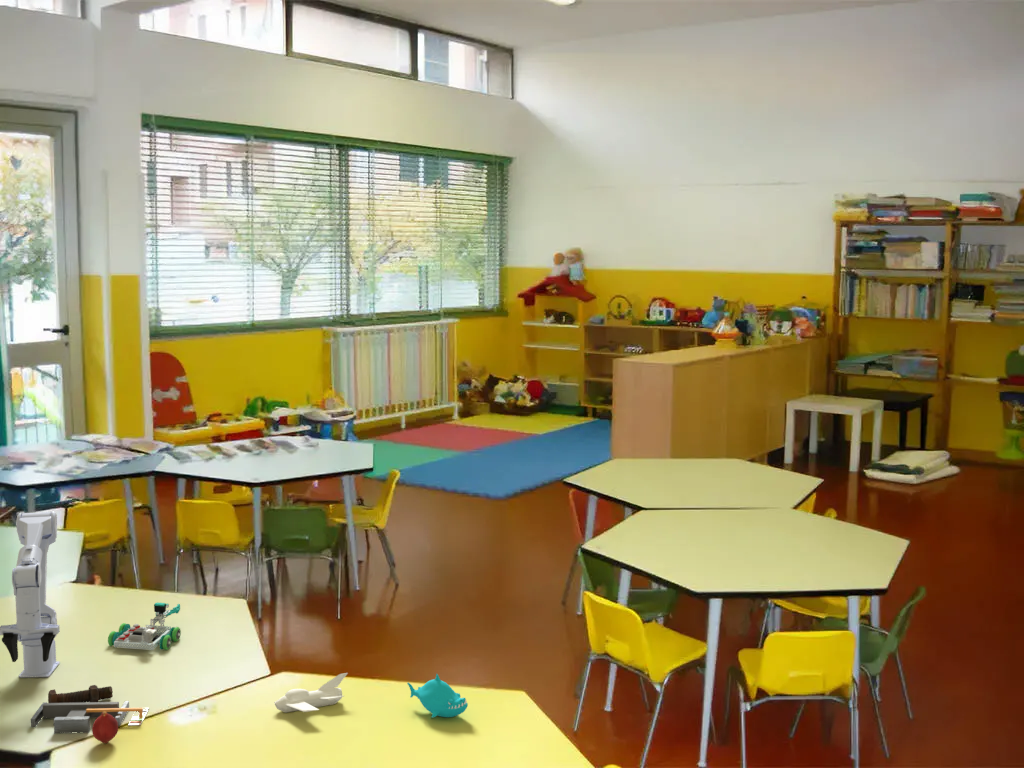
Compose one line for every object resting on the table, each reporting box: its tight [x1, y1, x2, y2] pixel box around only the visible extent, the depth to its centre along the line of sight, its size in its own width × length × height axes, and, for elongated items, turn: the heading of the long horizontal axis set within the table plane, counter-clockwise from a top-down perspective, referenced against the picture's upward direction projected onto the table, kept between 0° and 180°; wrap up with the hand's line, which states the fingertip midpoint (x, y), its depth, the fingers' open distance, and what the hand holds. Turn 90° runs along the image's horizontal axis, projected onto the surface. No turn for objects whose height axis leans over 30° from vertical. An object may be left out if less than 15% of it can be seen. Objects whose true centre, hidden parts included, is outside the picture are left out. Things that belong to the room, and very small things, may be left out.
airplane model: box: [274, 672, 348, 714], centre depth 270 cm, size 20×20×8 cm
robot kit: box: [107, 602, 182, 651], centre depth 311 cm, size 19×25×9 cm
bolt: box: [47, 684, 113, 703], centre depth 267 cm, size 6×5×15 cm
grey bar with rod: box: [42, 701, 144, 720], centre depth 259 cm, size 6×24×4 cm, turn 96°
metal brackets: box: [30, 700, 150, 734], centre depth 259 cm, size 12×26×4 cm, turn 96°
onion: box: [91, 712, 119, 745], centre depth 248 cm, size 6×6×8 cm
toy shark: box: [407, 673, 469, 718], centre depth 268 cm, size 10×18×11 cm, turn 62°
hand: (30, 660), depth 271 cm, fingers open, 7 cm apart
